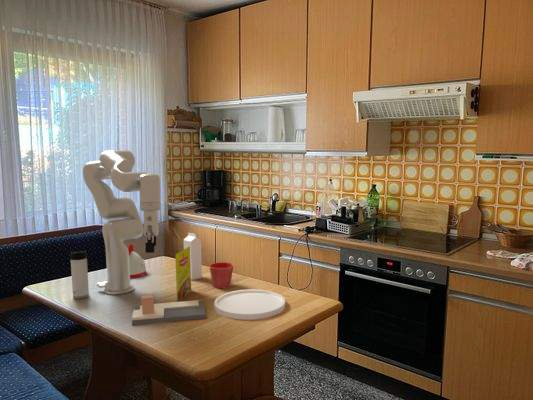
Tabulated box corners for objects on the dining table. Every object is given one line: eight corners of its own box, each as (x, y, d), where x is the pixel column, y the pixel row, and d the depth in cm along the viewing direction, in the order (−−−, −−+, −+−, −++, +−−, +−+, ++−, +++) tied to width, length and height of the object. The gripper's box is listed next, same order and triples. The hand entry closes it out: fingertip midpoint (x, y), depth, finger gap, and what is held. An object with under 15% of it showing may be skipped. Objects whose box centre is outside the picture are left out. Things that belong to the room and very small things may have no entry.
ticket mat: (132, 325, 151) (131, 319, 150) (135, 309, 165) (135, 304, 165) (205, 318, 156) (205, 312, 156) (202, 303, 171) (202, 298, 170)
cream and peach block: (131, 320, 151) (131, 301, 150) (133, 312, 158) (132, 294, 157) (163, 317, 153) (163, 298, 152) (164, 310, 160) (163, 292, 159)
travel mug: (73, 300, 176) (70, 253, 174) (72, 295, 182) (69, 250, 180) (89, 297, 179) (86, 251, 177) (88, 293, 185) (85, 248, 183)
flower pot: (223, 280, 201) (222, 260, 200) (238, 285, 193) (238, 264, 192) (205, 285, 194) (204, 265, 193) (220, 291, 186) (219, 269, 185)
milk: (192, 280, 202) (190, 235, 200) (184, 277, 206) (182, 233, 204) (202, 277, 207) (200, 232, 204) (194, 275, 211) (193, 231, 208)
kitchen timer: (148, 270, 221) (147, 241, 219) (142, 278, 207) (141, 247, 206) (121, 270, 220) (120, 242, 219) (113, 278, 207) (111, 248, 205)
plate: (252, 327, 149) (252, 320, 148) (199, 308, 167) (199, 302, 166) (299, 304, 170) (299, 298, 169) (248, 290, 188) (248, 285, 188)
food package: (178, 302, 173) (176, 254, 170) (175, 302, 173) (174, 254, 171) (192, 290, 188) (190, 246, 185) (190, 290, 188) (188, 245, 186)
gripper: (158, 209, 156) (159, 254, 158) (161, 202, 173) (162, 243, 175) (137, 209, 155) (138, 255, 157) (142, 202, 171) (143, 243, 174)
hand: (151, 249), depth 166 cm, fingers open, 9 cm apart
